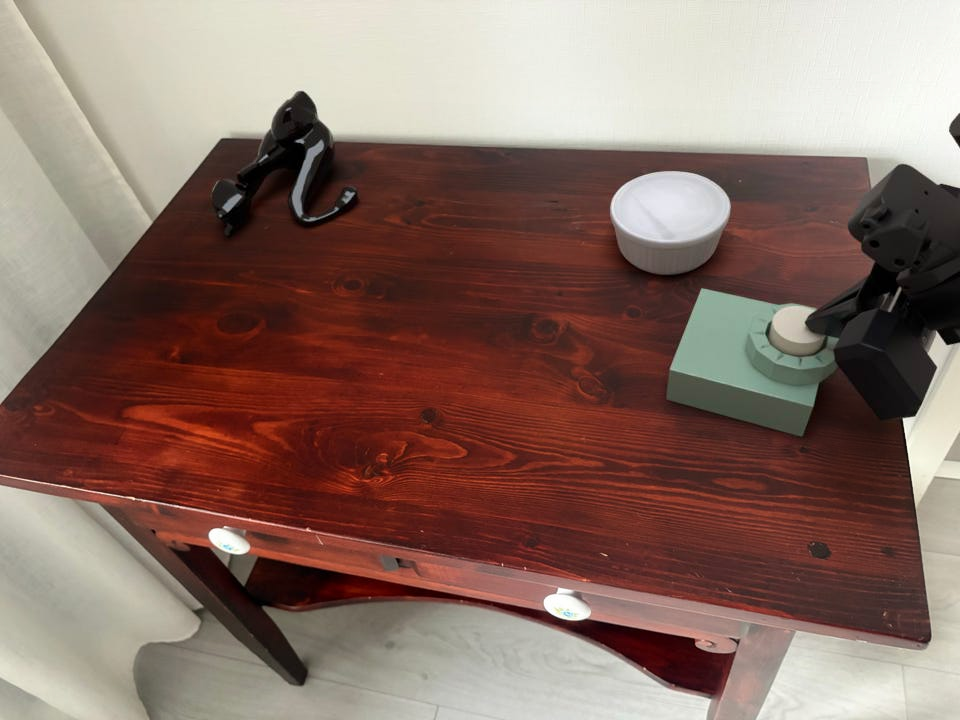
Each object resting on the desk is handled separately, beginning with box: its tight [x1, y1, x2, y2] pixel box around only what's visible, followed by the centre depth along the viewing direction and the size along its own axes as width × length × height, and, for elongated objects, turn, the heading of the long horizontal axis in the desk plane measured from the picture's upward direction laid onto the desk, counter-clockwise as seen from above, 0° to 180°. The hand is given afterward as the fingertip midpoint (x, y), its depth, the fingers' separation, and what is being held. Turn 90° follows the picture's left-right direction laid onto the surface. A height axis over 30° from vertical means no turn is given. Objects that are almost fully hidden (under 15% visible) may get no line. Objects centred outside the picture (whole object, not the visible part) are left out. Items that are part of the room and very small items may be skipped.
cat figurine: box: [210, 90, 359, 238], centre depth 87 cm, size 10×14×18 cm
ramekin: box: [609, 170, 732, 276], centre depth 74 cm, size 11×11×5 cm
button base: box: [665, 287, 839, 438], centre depth 62 cm, size 12×10×6 cm
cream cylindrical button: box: [768, 305, 826, 358], centre depth 59 cm, size 4×4×3 cm
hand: (809, 324), depth 57 cm, fingers closed, pressing on cream cylindrical button
